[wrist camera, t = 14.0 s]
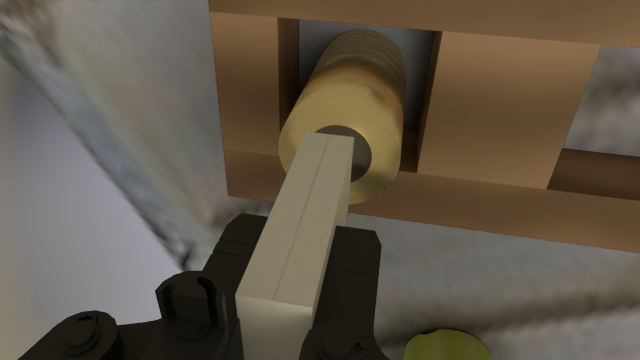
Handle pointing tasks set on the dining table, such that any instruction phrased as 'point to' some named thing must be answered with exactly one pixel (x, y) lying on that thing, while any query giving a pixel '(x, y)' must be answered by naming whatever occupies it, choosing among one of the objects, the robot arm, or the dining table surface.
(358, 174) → the brass bushing
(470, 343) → the plant pot
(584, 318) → the dining table surface
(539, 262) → the dining table surface
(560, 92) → the frame
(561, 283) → the dining table surface
